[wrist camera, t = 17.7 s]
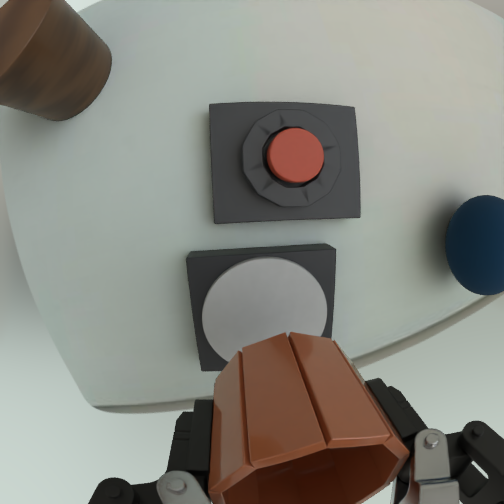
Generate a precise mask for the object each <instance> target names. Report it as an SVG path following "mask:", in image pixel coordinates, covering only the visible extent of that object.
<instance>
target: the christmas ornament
mask: <svg viewBox="0 0 504 504" xmlns="http://www.w3.org/2000/svg"><path fill="white" fill-rule="evenodd" d="M445 249H446V256H447V261H448V264H449V267H450V269H451V271H452V273H453V275H454V276H455V278H456V279H457V280H458V282H459V283H460V284H461V285H462V286H463V287H465V288H466V289H468V290H469V291H471V292H473V293H476V294H480V295H494V294H498V293H500V292H503V291H504V200H503V199H501V198H498V197H495V196H490V195H482V196H477V197H474V198H471V199H469V200H468V201H466V202H465V203H463V204H462V205H461V206H460V207H459V208H458V209H457V211H456V212H455V213H454V215H453V216H452V218H451V220H450V223H449V225H448V229H447V233H446V240H445Z"/></svg>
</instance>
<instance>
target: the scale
mask: <svg viewBox="0 0 504 504" xmlns="http://www.w3.org/2000/svg"><path fill="white" fill-rule="evenodd" d="M186 263H187V273H188V281H189V290H190V298H191V306H192V313H193V321H194V328H195V334H196V341H197V347H198V353H199V360H200V365H201V371H222V370H223V369H224V368H225V367H226V365H227V364H228V363H229V361H230V360H231V359H232V358H233V356H234V355H235V354H236V352H237V351H238V350H239V351H241V352H242V347H245V346H248V345H251V344H254V343H256V342H259V341H262V340H265V339H268V338H270V337H273V336H276V335H278V334H281V333H284V332H286V334H287V337H288V336H289V333H290V332H296V333H302V334H308V335H313V336H320V337H326V338H331V336H332V324H333V310H334V293H335V270H336V249H335V248H333V247H332V246H330V245H328V244H310V245H293V246H275V247H258V248H241V249H224V250H207V251H191V252H190V253H189V255H188V256H187V258H186Z"/></svg>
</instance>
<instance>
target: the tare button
mask: <svg viewBox="0 0 504 504" xmlns="http://www.w3.org/2000/svg"><path fill="white" fill-rule="evenodd" d="M267 162H268V165H269V168H270V169H271V171H272V172H273V174H274V175H275V176H276V177H278V178H279V179H281V180H283V181H285V182H289V183H299V182H305V181H308V180H310V179H312V178H313V177H315V176H316V175H317V174H318V173H319V171H320V170H321V168H322V165H323V162H324V152H323V148H322V145H321V143H320V142H319V140H318V139H317V138H316V137H315V136H314V135H313V134H312V133H310V132H309V131H307V130H304V129H300V128H290V129H286V130H284V131H282V132H280V133H279V134H278V135H277V136H276V137H275V138H274V139H273V140H272V142H271V143H270V145H269V147H268V150H267Z"/></svg>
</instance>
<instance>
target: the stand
mask: <svg viewBox="0 0 504 504" xmlns="http://www.w3.org/2000/svg"><path fill="white" fill-rule="evenodd" d="M111 63H112V57H111V52H110V49H109V47H108V46H107V45H106V44H105V43H104V41H103V40H102V39H101V38H100V37H99V36H98V35H97V34H96V33H95V32H94V31H93V30H92V29H91V27H90V26H89V25H88V24H87V23H86V22H85V21H84V20H83V19H82V18H81V17H80V16H79V15H78V14H77V13H76V12H75V11H74V10H73V9H72V7H71V6H70V5H69V4H68V3H67V2H66V1H65V0H9V1H8V2H7V3H5V4H4V5H3V6H2V7H1V8H0V105H4V106H7V107H11V108H14V109H18V110H21V111H24V112H27V113H31V114H34V115H37V116H40V117H43V118H46V119H50V120H53V121H61V120H66V119H69V118H71V117H73V116H75V115H77V114H78V113H80V112H82V111H83V110H84V109H85V108H87V107H88V106H89V105H90V104H91V103H92V102H93V101H94V99H95V98H96V97H97V96H98V94H99V93H100V92H101V90H102V88H103V87H104V85H105V83H106V81H107V79H108V76H109V73H110V70H111Z"/></svg>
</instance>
